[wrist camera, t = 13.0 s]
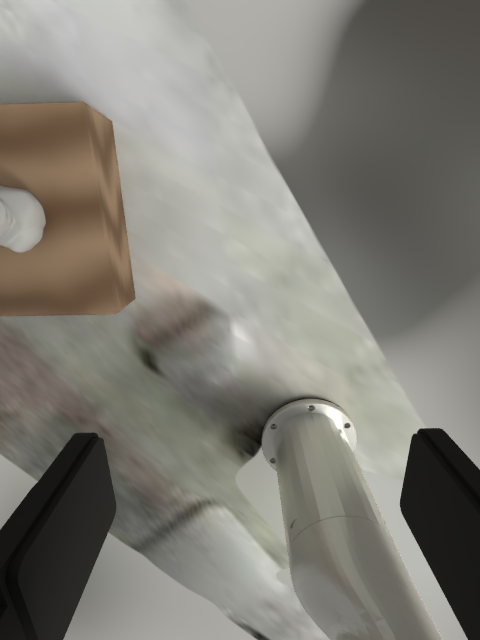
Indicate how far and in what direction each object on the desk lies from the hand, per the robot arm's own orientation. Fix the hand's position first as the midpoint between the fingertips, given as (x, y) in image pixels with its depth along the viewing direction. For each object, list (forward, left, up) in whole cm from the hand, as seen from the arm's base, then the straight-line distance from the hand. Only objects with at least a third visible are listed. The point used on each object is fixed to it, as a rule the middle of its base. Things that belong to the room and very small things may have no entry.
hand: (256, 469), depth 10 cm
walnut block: (+7, +20, -28) cm, 35 cm away
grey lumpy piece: (+7, +20, -22) cm, 31 cm away
